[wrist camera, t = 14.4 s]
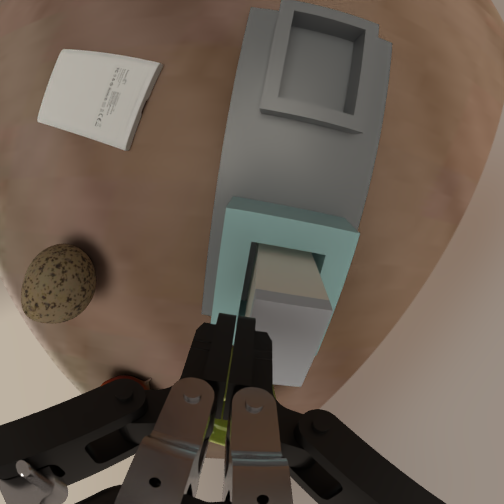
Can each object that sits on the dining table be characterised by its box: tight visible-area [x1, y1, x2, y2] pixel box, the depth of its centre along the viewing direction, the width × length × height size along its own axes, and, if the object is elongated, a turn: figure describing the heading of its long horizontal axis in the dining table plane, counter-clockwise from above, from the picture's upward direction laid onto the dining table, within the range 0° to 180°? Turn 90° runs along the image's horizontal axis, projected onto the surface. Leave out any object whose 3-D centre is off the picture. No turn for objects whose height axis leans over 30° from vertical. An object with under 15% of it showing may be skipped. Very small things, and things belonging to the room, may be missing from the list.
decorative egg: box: [21, 244, 96, 324], centre depth 21 cm, size 7×7×10 cm
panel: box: [202, 0, 392, 356], centre depth 19 cm, size 28×12×5 cm, turn 170°
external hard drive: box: [37, 49, 163, 151], centre depth 19 cm, size 2×8×12 cm
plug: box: [245, 243, 333, 387], centre depth 19 cm, size 6×4×10 cm, turn 170°
